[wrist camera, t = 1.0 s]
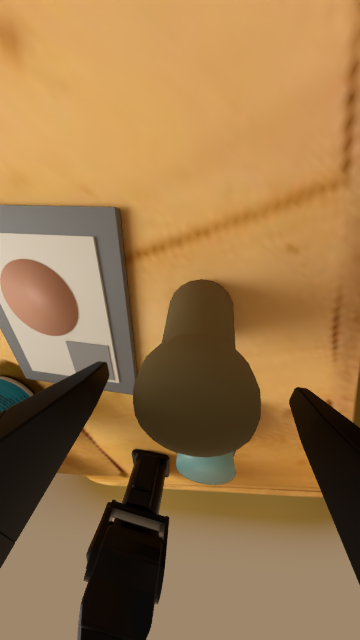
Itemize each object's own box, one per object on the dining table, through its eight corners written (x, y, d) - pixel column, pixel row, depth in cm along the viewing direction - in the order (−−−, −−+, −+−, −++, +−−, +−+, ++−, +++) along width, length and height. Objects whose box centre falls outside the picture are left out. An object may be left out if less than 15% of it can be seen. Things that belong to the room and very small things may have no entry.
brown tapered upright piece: (224, 269, 13) (279, 344, 4) (239, 331, 16) (298, 482, 6) (159, 291, 15) (71, 383, 5) (181, 344, 17) (149, 479, 7)
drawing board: (138, 390, 21) (135, 397, 20) (31, 374, 23) (24, 380, 22) (119, 209, 12) (112, 206, 12) (-51, 205, 14) (-70, 203, 13)
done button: (227, 466, 19) (229, 489, 17) (177, 456, 20) (175, 477, 18) (237, 437, 17) (241, 460, 15) (179, 427, 17) (176, 448, 15)
